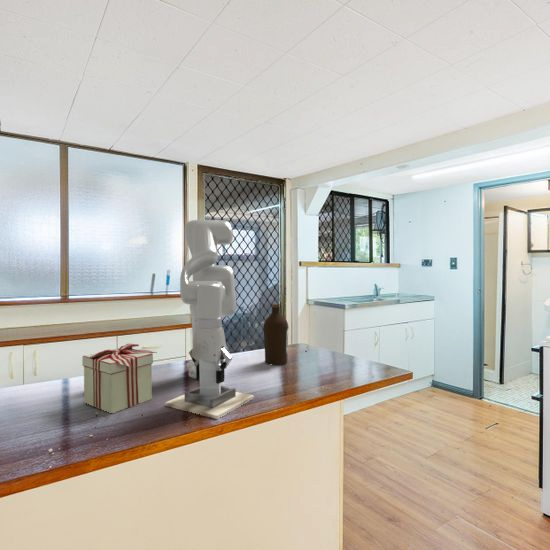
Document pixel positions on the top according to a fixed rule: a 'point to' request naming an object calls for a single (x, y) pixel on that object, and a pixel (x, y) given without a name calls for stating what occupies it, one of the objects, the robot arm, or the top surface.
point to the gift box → (118, 378)
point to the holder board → (210, 402)
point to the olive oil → (276, 337)
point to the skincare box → (208, 379)
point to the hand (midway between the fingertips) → (210, 380)
